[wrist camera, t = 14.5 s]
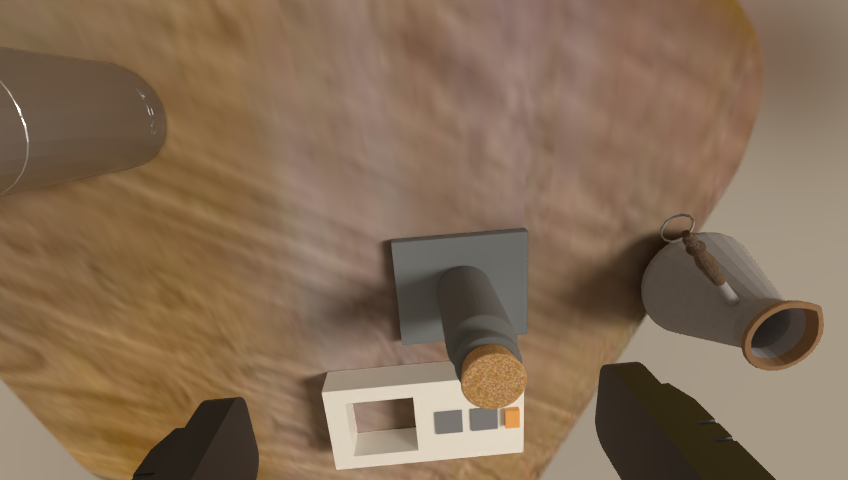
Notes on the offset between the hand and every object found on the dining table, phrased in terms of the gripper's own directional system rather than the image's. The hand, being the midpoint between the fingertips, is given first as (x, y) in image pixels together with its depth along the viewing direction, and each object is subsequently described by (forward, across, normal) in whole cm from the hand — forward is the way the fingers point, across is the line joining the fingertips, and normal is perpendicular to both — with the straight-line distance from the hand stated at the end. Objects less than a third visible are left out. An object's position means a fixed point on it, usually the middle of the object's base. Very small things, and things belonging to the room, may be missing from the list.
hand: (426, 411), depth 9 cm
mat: (+32, -5, +12) cm, 34 cm away
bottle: (+31, -5, +12) cm, 34 cm away
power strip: (+32, 0, +28) cm, 42 cm away
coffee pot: (+32, -26, +10) cm, 42 cm away
